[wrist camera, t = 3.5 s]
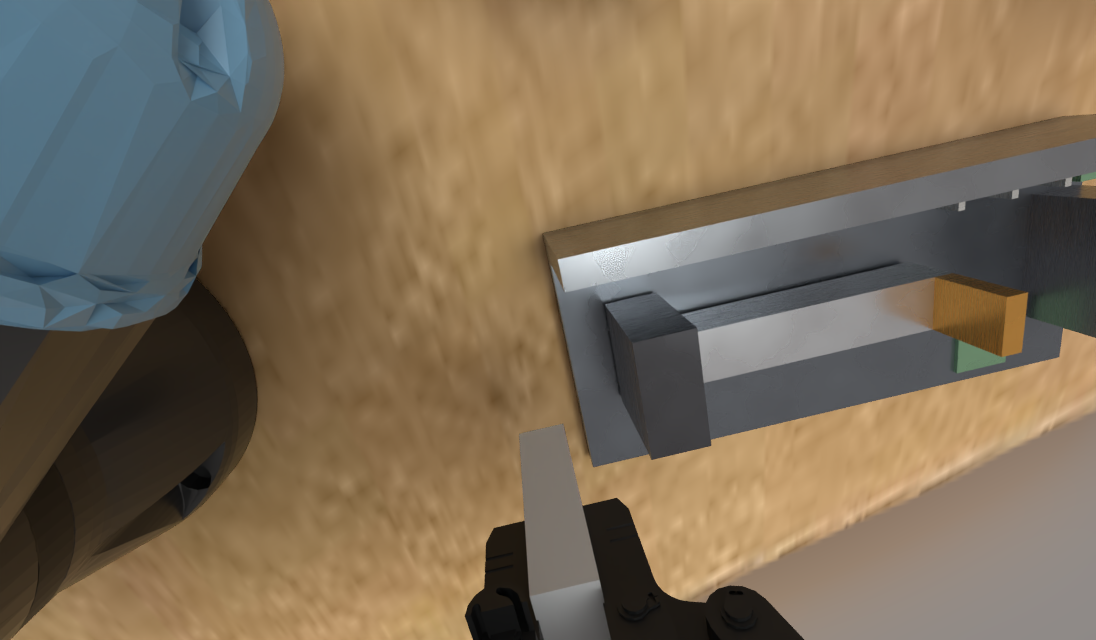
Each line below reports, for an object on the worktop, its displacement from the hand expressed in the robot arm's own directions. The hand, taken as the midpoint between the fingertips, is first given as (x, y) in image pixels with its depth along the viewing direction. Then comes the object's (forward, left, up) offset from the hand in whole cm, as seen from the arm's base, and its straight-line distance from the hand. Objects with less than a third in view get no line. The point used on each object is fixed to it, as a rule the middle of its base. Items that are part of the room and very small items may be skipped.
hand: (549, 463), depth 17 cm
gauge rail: (+14, 0, -9) cm, 17 cm away
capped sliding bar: (+11, 0, -7) cm, 13 cm away
